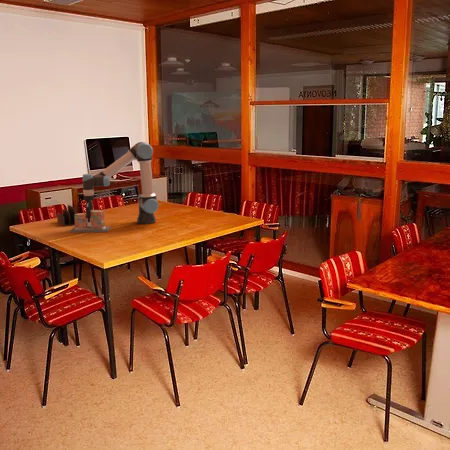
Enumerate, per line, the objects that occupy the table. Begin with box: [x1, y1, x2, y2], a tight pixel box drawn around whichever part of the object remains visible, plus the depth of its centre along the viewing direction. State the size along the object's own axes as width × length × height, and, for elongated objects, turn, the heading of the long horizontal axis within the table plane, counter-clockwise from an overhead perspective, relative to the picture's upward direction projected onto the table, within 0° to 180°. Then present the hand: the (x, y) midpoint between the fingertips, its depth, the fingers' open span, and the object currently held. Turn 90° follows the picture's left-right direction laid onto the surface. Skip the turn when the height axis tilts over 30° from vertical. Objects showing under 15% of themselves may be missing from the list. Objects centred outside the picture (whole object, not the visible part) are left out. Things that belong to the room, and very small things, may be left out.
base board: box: [70, 225, 111, 233], centre depth 372 cm, size 27×13×2 cm, turn 93°
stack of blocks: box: [74, 209, 106, 228], centre depth 370 cm, size 21×6×12 cm, turn 80°
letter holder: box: [56, 204, 76, 227], centre depth 393 cm, size 10×20×14 cm, turn 33°
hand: (90, 225), depth 371 cm, fingers closed on stack of blocks, 7 cm apart
